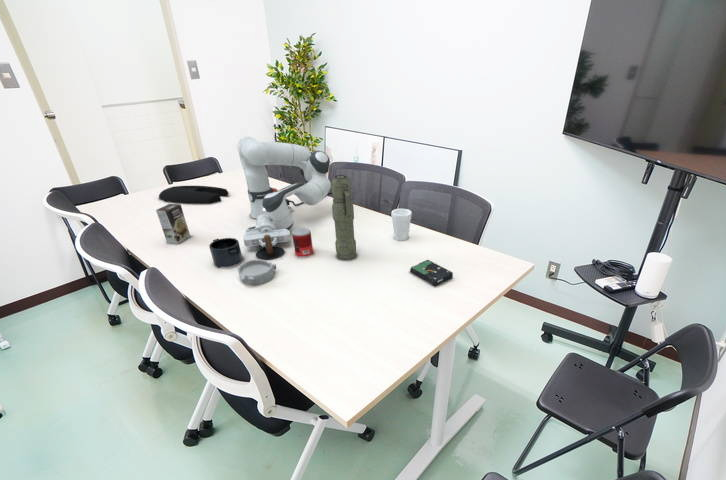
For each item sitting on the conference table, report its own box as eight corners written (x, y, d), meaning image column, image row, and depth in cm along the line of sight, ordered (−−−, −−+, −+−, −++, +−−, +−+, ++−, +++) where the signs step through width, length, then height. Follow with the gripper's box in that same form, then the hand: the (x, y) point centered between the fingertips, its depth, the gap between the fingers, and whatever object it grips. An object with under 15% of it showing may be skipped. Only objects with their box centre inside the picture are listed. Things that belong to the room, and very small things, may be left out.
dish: (255, 290, 149) (252, 279, 146) (231, 280, 155) (228, 269, 152) (283, 274, 159) (281, 263, 156) (260, 265, 165) (258, 254, 162)
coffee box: (178, 244, 181) (167, 211, 172) (166, 243, 182) (154, 209, 173) (191, 236, 189) (181, 204, 180) (179, 235, 190) (169, 203, 181)
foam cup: (413, 235, 191) (414, 210, 184) (406, 243, 184) (406, 217, 177) (396, 232, 195) (396, 207, 187) (388, 239, 188) (388, 213, 180)
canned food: (316, 251, 176) (313, 228, 170) (307, 259, 170) (304, 235, 164) (301, 248, 178) (298, 226, 172) (292, 256, 172) (288, 233, 166)
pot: (232, 251, 176) (227, 233, 171) (250, 263, 166) (246, 245, 162) (207, 259, 169) (201, 241, 164) (225, 273, 159) (220, 254, 155)
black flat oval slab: (175, 188, 248) (172, 181, 245) (235, 192, 244) (233, 184, 241) (149, 202, 228) (146, 193, 225) (213, 206, 223) (211, 197, 220)
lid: (275, 246, 181) (272, 227, 176) (290, 254, 174) (287, 235, 168) (250, 254, 173) (246, 235, 168) (265, 264, 166) (261, 244, 161)
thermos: (345, 263, 167) (339, 182, 147) (331, 254, 174) (322, 175, 155) (362, 257, 172) (358, 178, 152) (347, 248, 179) (341, 171, 160)
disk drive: (453, 278, 158) (427, 264, 167) (453, 272, 156) (427, 258, 165) (435, 287, 152) (409, 272, 161) (435, 281, 150) (409, 266, 159)
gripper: (290, 236, 185) (294, 248, 174) (245, 241, 179) (245, 254, 169) (288, 223, 182) (291, 235, 171) (242, 229, 176) (242, 241, 165)
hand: (268, 244), depth 170 cm, fingers closed on lid, 2 cm apart
